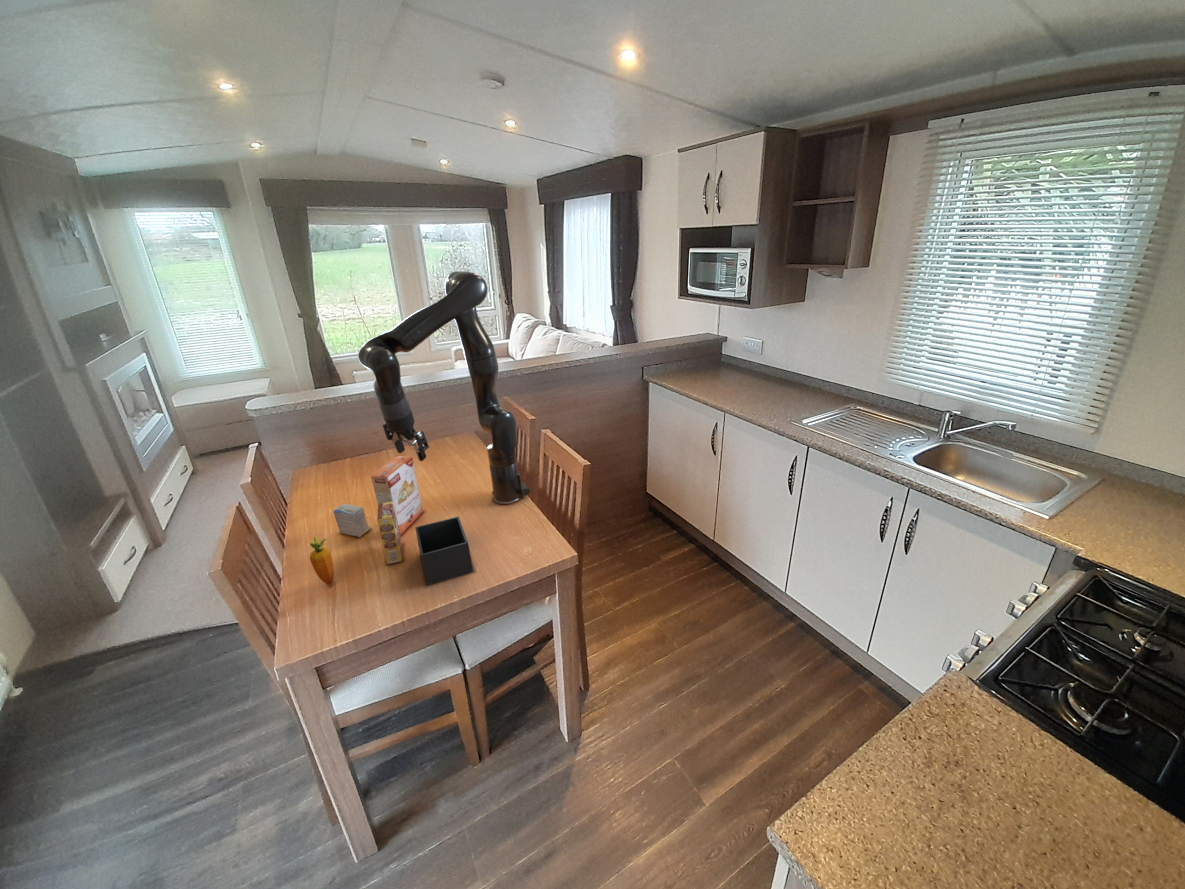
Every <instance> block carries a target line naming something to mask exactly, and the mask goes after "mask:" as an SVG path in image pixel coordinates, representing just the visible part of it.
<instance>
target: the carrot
mask: <svg viewBox="0 0 1185 889" xmlns="http://www.w3.org/2000/svg"><path fill="white" fill-rule="evenodd" d="M326 540H327V538H322V540H321V541H320V543H319V540H318V537H317V536H313V541H314V542H313V541H311V542H310V543H309V545H310V547H312V548H313V550H312V551H311V552H310V553H309V561H310V563H311V566H312V568H313V570H314V572H315V574H316V576H318V578H319V579H320V580H321V581H322V582H323V583H324V584H326V585H328V586H331V585H332V584H333V582H334V578H335V567H334V560H333V556H332V553H331V550H330V548H329V547H324V546H323V544H324V542H325V541H326Z"/></svg>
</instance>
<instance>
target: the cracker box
mask: <svg viewBox="0 0 1185 889" xmlns="http://www.w3.org/2000/svg"><path fill="white" fill-rule="evenodd" d="M370 477H371V481H372V485H373V490H374V494H375V499H376V502H377V505H378V504H382V503H386V502H393V505H394V510H395V515H396V519H397V524H398V528H399V533H400V536H402V534H404V532H405V531H406V530H407V529H408V528H409V527H410V526H411V525H412V524H413V523H414V522H415V521H416V520H417V519H418V518H419V517H420V515H421V514H422V513H423V512H424V510H423V505H422V501H421V495H420V490H419V484H418V479H417V473H416V469H415V464H414V459H413V457H412V456H400V455H397V456H395V457H394V458H392V459H391V460H390V461H388V462H387V463H386V464H384V465H383V466H382V467H381V468H379V469H378V470H377V471H376V472H373V474H372V475H371V476H370Z"/></svg>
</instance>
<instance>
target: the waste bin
mask: <svg viewBox="0 0 1185 889" xmlns="http://www.w3.org/2000/svg"><path fill="white" fill-rule="evenodd" d="M414 528H415V529H414V530H415V533H416V539H417V543H418V549H419V554H420V559H421V563H422V564H421V565H422V568H423V573H424V576H425V582H426V585H427V586H429V585H432V584H436V583H440V582H443V581H446V580H450V579H453V578H455V577H456V578H457V577H460V576H463V575H466V574H470V573H473V572H474V568H473V562H472V556H471V551H470V546H469V541H468V538H467V536H466V533H465V530H464V526H463V524H462V522H461V519H460V516H459V515H458V516H455V517H450V518H447V519H443V520H439V521H435V522H430V523H427V524H423V525H418V526H415V527H414Z"/></svg>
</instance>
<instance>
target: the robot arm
mask: <svg viewBox="0 0 1185 889" xmlns="http://www.w3.org/2000/svg"><path fill="white" fill-rule="evenodd" d="M444 292H445V296H443V297H442V298H440V299H439V300H437V301H436V302H433V303H431V304H430V305H428V306H426V307H423V308H421V309H419V310H418V311H415V312H414V313H412V314H410V315H409V316H408V317H406V318H405V319H404V320H402V321H401V322H399V323H398V324H397V325H395V326H394V327H393V328H392V329H390V330H388V331H385V332H383V333H381V334H379V335H377V336H374V337H372V338H370V339H369V340H367V341H366V342H364V343H363V345H362V346H361V347H360V348H359V350H358V353H357V358H358V361H359V363H360V364H361V365H362V366H363V367H364V368H366V369H368V370H370V371H371V372H372V373H373V375H374V378H375V380H373V389H374V394H375V395H376V398H377V401H378V404H379V408H380V412H381V415H382V417H383V420H384V423H383V424H382V428H383V431H384V434H385V437H386V439H387V441H391V442H392V444H394V446H395V449H396V452H397V453H398V454H402V453H404V452H405V450H406V448H405V445H404V442H405V443H406V444H407V445H408V446H409V447H410V448H413V449H414V450H415V452H416V456H417V459H418V460H419V462H423V461H424V460H425V459H426V458H427V454H426V451H427V450H428V449H429V448H430V446H429V443H428V440H427V437H426V435H425V432H424V431H423V430H420V431H419V432H418V431H416V429H415V428H414V425H415V417H414V414H413V411H412V408H411V405H410V402H409V399H408V397H407V396H406V393H405V390H404V387H403V384H402V381H401V380H402V377H401V375H402V374H401V365H400V361H399V359H398V357H397V353H410V352H411V351H413V350H414V349H416V348H417V347H418V346H419V345H421V344H422V343H423V342H425V340H427V339H428V338H429V337H430V336H432V335H433V334H435V333H436V332H437V331H438V330H440V329H441V328H442V327H444V326H445V325H447V324H449V323H450V322H451V321H453V320H454V322H455V324H456V328H457V331H458V336H459V340H460V344H461V347H462V351H463V356H464V359H465V363H466V364H465V365H466V368H467V371H468V374H469V378H470V382H471V386H472V390H473V392H474V397H475V404H476V411H477V417H478V422H479V426H480V427H481V429H482V430H484V432H486V433H487V434H490V435H491V440H492V441H491V442H492V443H490V444H489V445H488V446H487V449H486V451H487V457H488V458H487V459H488V464H489V465H488V466H489V471H490V479H491V480H490V481H491V488H492V491H491V496H492V497H493V501H494V502H495V503H497V504H500V505H509V504H510V505H511V504H514V503H516V502H518V501H520V499H523V497H524V496H525V497H526V496H528V495H529V494H530V492H531V489H530V488H529V487H528V486H527V485H526V483H525V482H524V481H523V482H522V481H521V474H520V472H519V468H518V460H517V449H516V448H517V445H518V432H517V421H516V417H515V415H514V413H512V411H510V410H507V409H505V408H503V407H501V405H500V403H499V400H498V395H497V392H496V390H497V389H496V385H497V380H498V375H499V363H498V358H497V353H496V349H495V347H494V344H493V342H492V340H491V338H490V336H489V335H488V333H487V330H485V328H484V326H483V324H482V322H481V320H480V317H479V315H478V311H477V307H478V306H479V305H481V304H482V303H483V302H484V301H485V299H486V298H487V295H488V285H487V282H486V280H485V278H483V277H482V276H481V275H480V274H478V273H475V272H472V271H471V272H470V271H461V270H460V271H459V270H458V271H457V270H456V271H453V272H450V273H449V274H448V275H447V277H446V279H445V282H444ZM413 440H414V442H412V441H413Z"/></svg>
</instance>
